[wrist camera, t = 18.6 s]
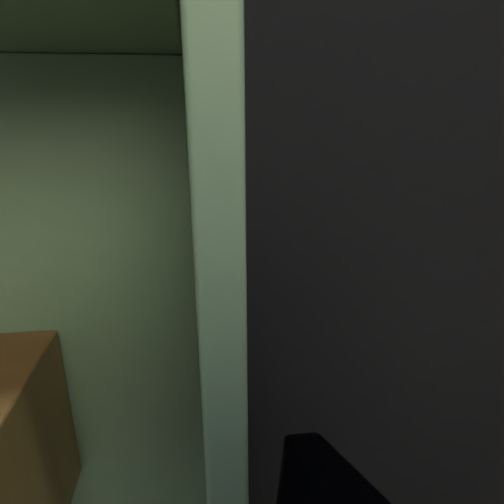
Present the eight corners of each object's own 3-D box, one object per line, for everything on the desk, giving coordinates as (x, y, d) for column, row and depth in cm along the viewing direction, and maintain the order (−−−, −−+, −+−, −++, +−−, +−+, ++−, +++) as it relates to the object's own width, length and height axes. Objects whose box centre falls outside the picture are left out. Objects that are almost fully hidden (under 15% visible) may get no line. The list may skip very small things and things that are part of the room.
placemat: (786, -59, 9) (805, -64, 9) (560, 560, 16) (567, 569, 15) (-572, -155, 6) (-610, -168, 6) (-135, 678, 12) (-143, 691, 12)
